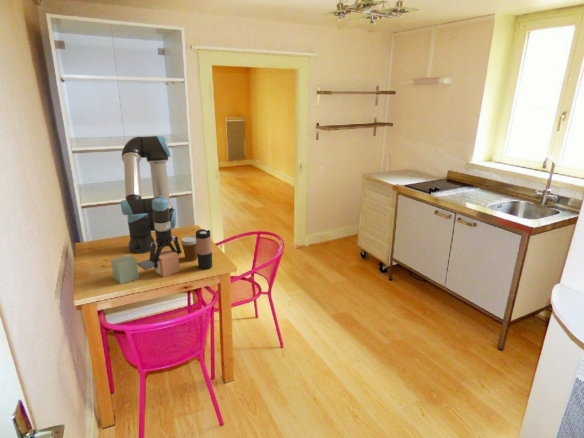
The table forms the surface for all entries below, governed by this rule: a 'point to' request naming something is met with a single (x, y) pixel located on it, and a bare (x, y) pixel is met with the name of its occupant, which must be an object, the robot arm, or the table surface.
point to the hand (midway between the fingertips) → (167, 269)
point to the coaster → (146, 264)
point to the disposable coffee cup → (189, 248)
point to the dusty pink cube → (168, 263)
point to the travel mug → (204, 249)
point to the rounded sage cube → (124, 268)
